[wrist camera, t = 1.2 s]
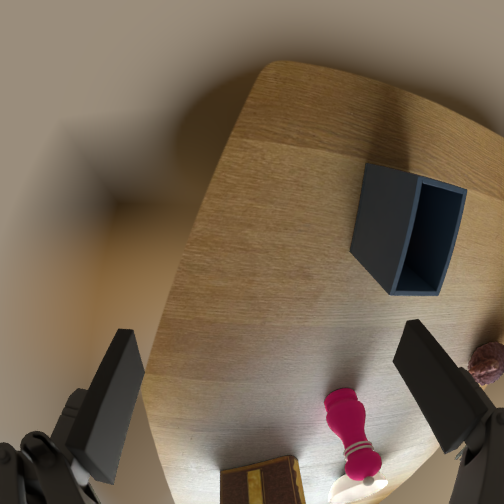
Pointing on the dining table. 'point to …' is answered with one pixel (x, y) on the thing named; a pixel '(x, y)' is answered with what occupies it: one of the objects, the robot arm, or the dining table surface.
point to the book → (263, 483)
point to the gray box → (406, 230)
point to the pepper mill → (352, 435)
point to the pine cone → (487, 363)
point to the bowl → (354, 489)
